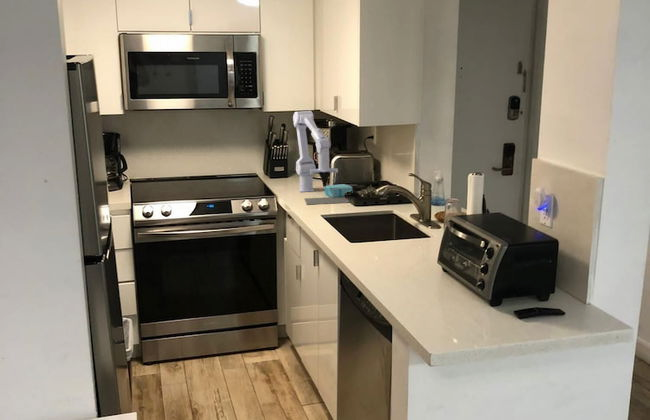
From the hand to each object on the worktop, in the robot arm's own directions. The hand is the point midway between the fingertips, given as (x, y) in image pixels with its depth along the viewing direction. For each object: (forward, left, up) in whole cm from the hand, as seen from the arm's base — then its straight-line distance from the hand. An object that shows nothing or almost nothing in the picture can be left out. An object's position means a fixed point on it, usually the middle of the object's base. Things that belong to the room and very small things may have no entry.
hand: (324, 186), depth 354 cm
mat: (+9, 0, -6) cm, 11 cm away
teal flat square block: (-2, +2, -3) cm, 4 cm away
